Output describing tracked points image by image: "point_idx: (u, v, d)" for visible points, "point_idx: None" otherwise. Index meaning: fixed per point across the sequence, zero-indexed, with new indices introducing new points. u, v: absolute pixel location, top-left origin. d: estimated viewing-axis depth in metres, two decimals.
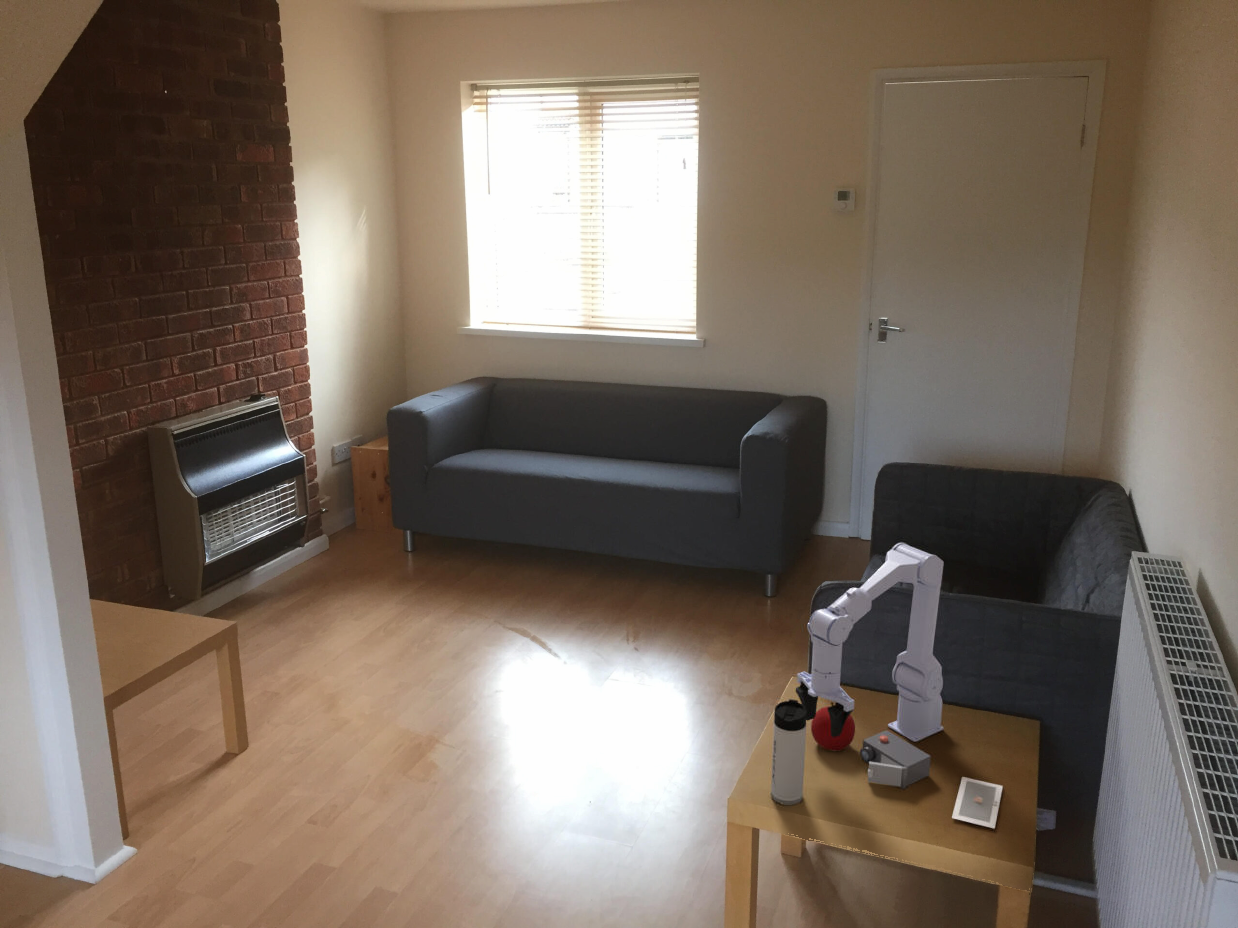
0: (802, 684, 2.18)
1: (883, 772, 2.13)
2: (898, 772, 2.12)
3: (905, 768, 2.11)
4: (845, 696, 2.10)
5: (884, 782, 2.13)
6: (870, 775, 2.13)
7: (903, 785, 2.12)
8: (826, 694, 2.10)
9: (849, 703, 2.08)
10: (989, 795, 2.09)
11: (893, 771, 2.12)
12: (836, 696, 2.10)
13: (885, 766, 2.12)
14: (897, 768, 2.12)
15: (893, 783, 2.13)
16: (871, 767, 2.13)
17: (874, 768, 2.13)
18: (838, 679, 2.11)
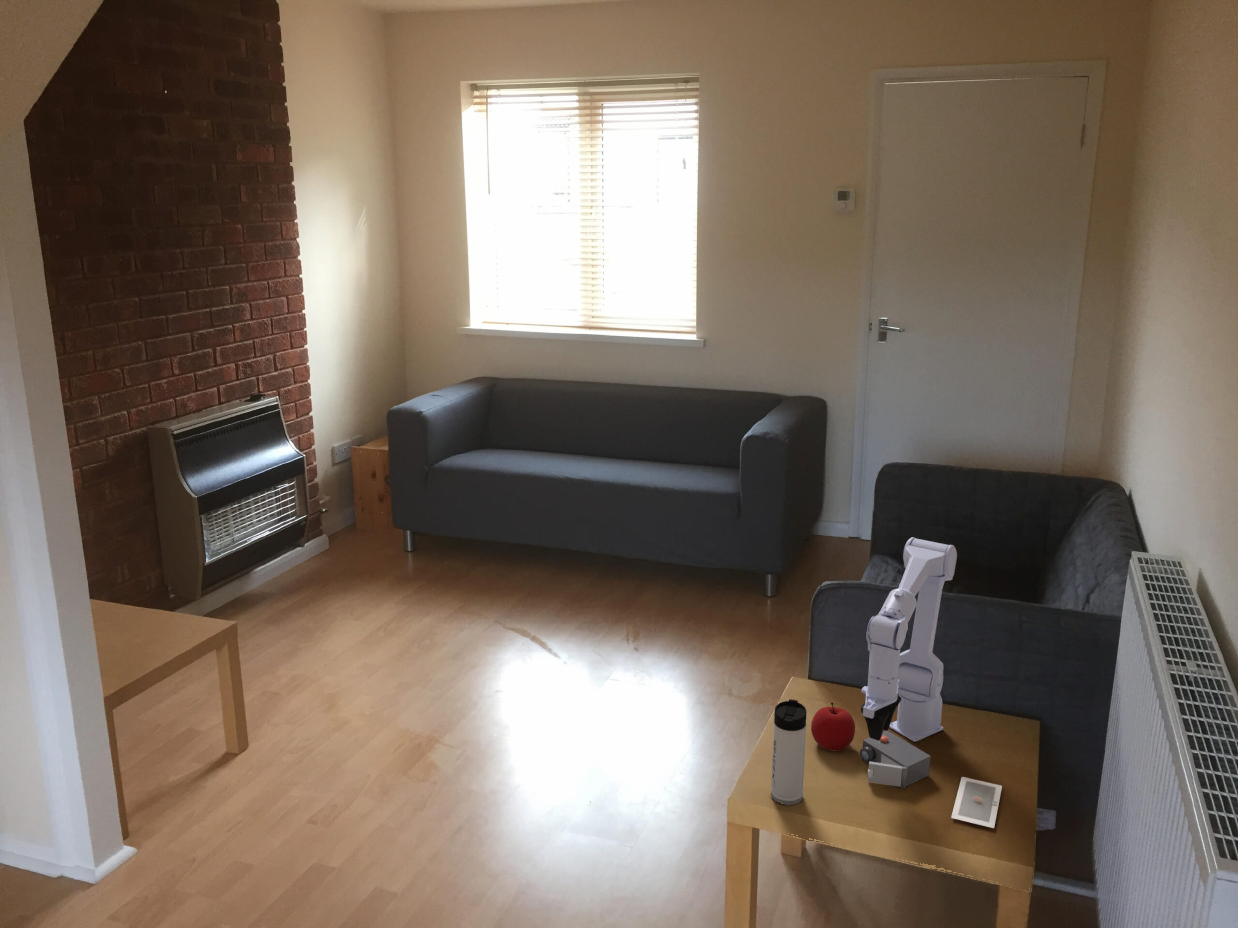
0: None
1: (883, 772, 2.13)
2: (898, 772, 2.12)
3: (905, 768, 2.11)
4: (877, 705, 2.06)
5: (884, 782, 2.13)
6: (870, 775, 2.13)
7: (903, 785, 2.12)
8: (867, 695, 2.09)
9: (866, 709, 2.05)
10: (988, 795, 2.09)
11: (893, 771, 2.12)
12: (873, 702, 2.08)
13: (885, 766, 2.12)
14: (897, 768, 2.12)
15: (893, 783, 2.13)
16: (871, 767, 2.13)
17: (874, 768, 2.13)
18: (881, 688, 2.07)
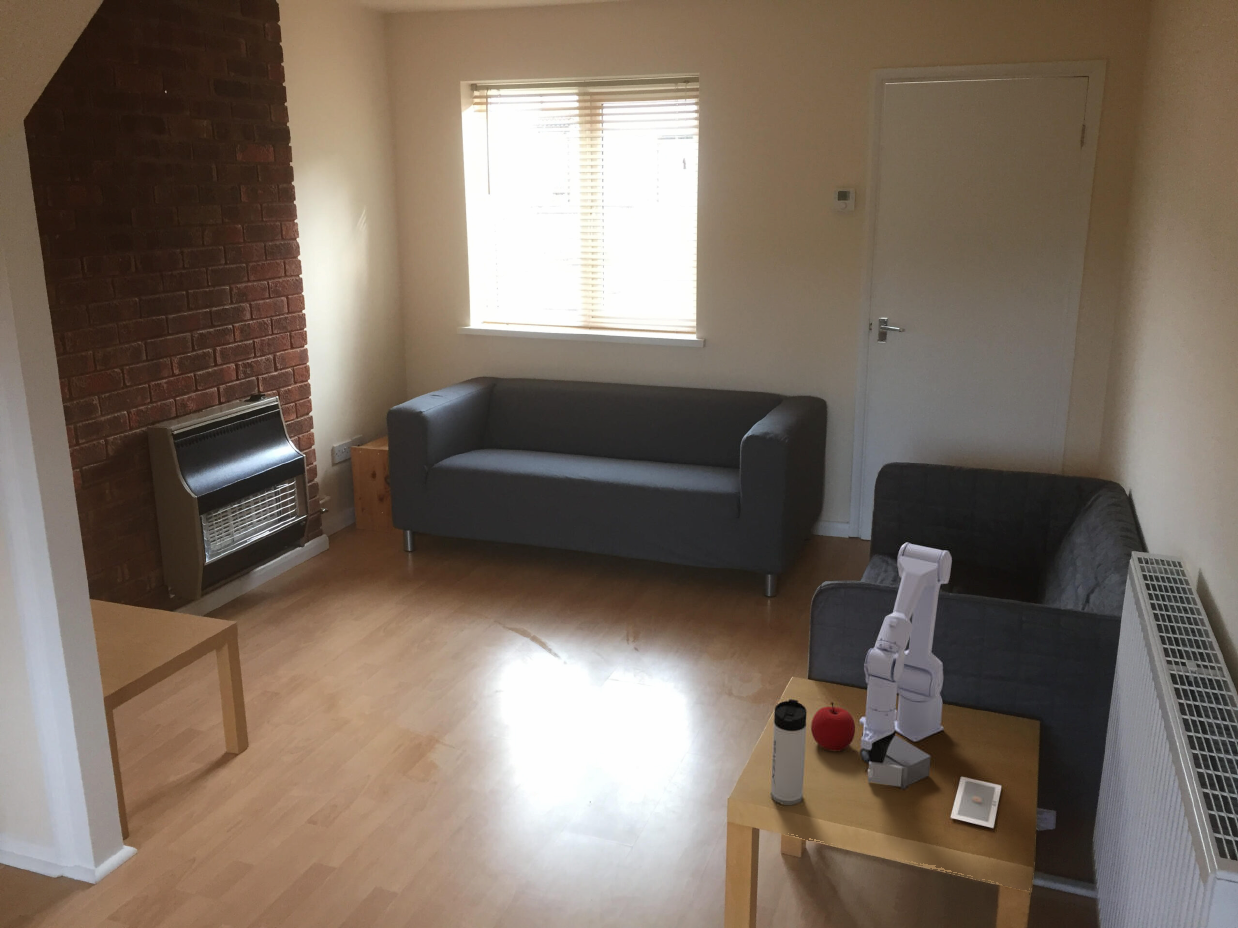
0: None
1: (883, 772, 2.13)
2: (898, 772, 2.12)
3: (905, 768, 2.11)
4: (874, 737, 2.08)
5: (884, 782, 2.13)
6: (870, 775, 2.13)
7: (903, 785, 2.12)
8: (865, 726, 2.11)
9: (863, 740, 2.07)
10: (987, 795, 2.09)
11: (893, 771, 2.12)
12: (871, 733, 2.10)
13: (885, 766, 2.12)
14: (897, 768, 2.12)
15: (893, 783, 2.13)
16: (871, 767, 2.13)
17: (874, 768, 2.13)
18: (879, 719, 2.09)
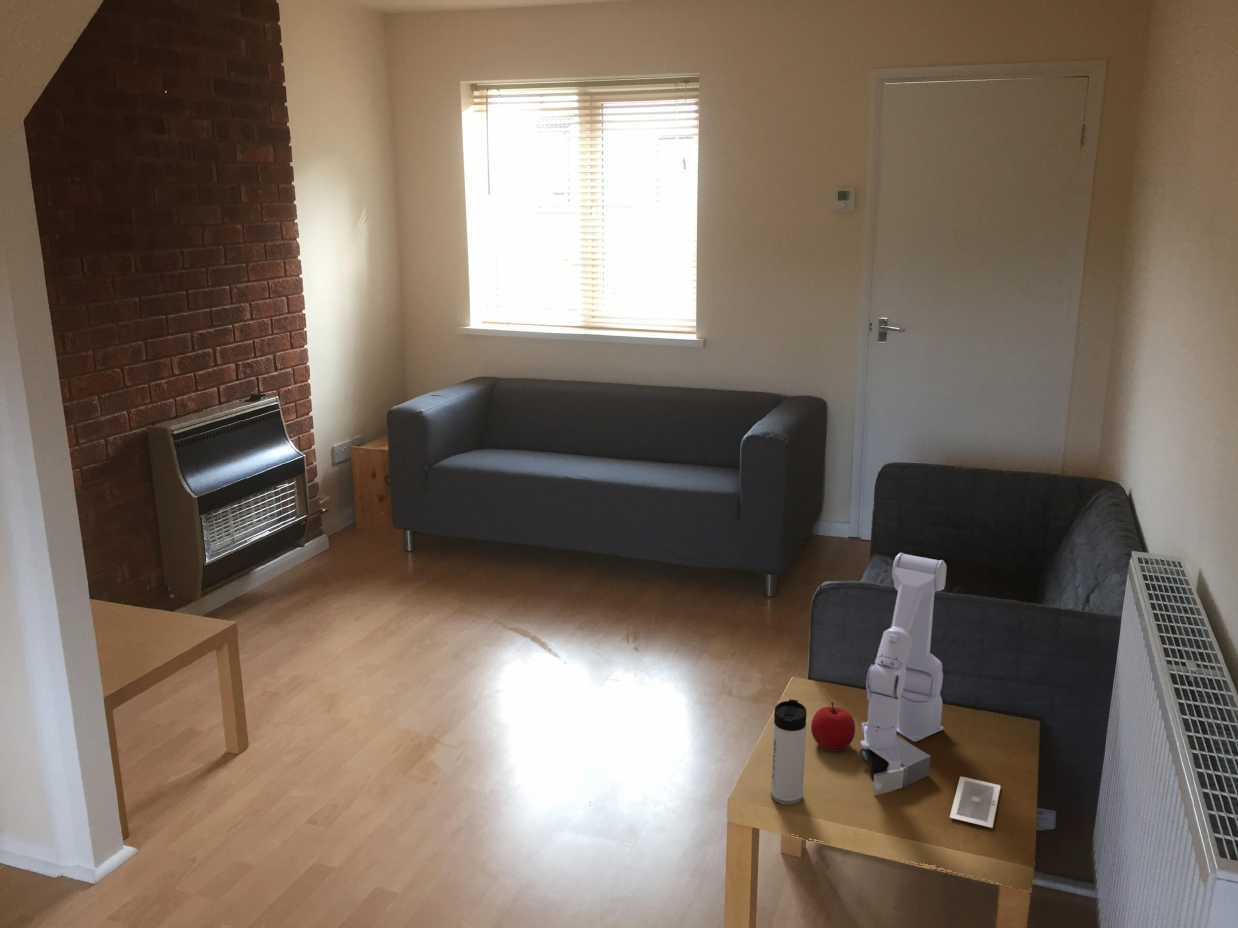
0: None
1: (888, 779, 2.10)
2: (900, 775, 2.11)
3: (905, 768, 2.11)
4: (895, 754, 2.04)
5: (889, 789, 2.11)
6: (879, 787, 2.09)
7: (904, 785, 2.12)
8: (876, 748, 2.06)
9: (894, 762, 2.02)
10: (987, 795, 2.09)
11: (896, 775, 2.11)
12: (886, 752, 2.05)
13: (890, 773, 2.10)
14: (899, 771, 2.11)
15: (896, 787, 2.12)
16: (878, 779, 2.09)
17: (880, 779, 2.09)
18: (891, 736, 2.06)
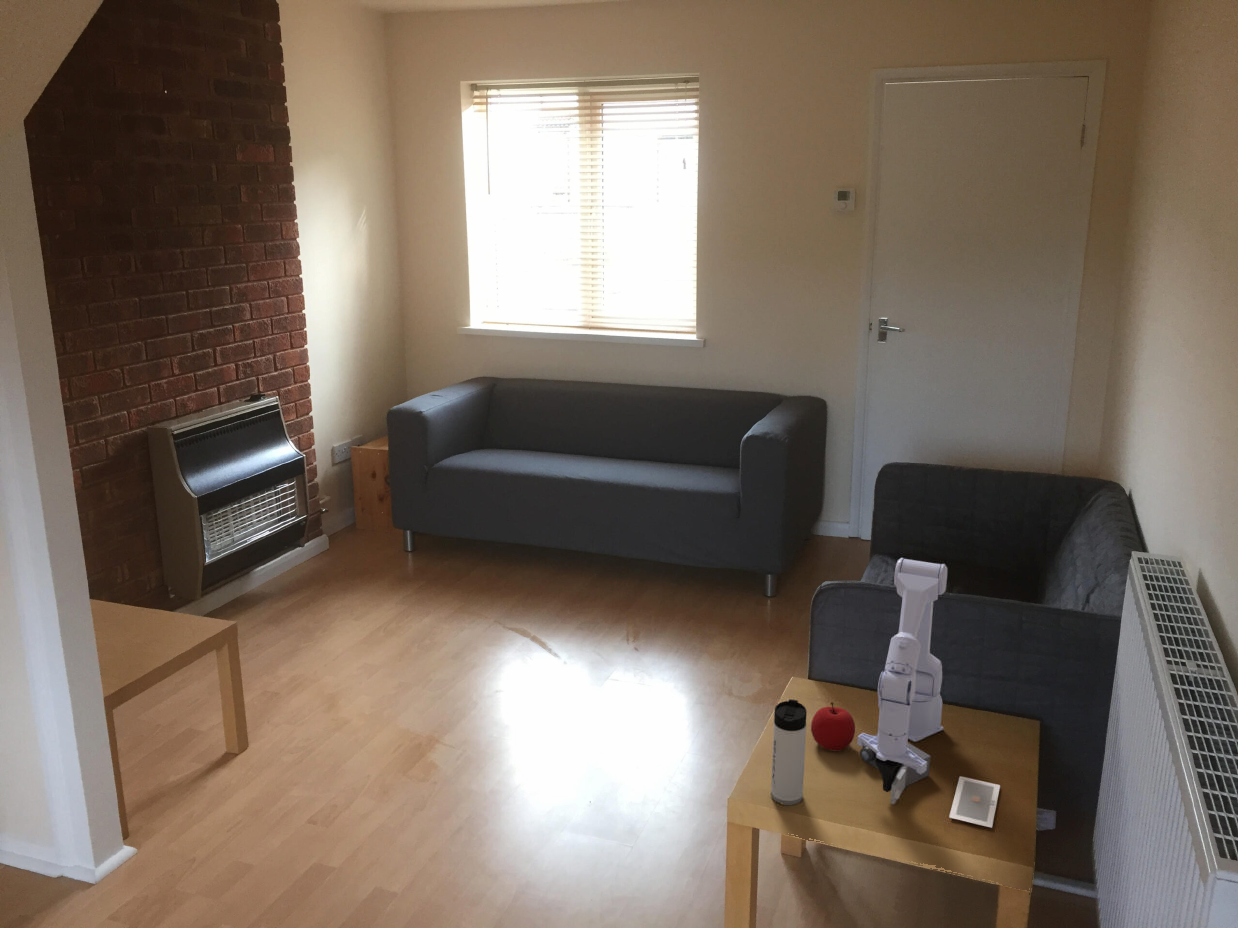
0: None
1: (900, 785, 2.08)
2: (904, 776, 2.11)
3: (905, 767, 2.12)
4: (915, 757, 2.03)
5: (899, 794, 2.09)
6: (899, 795, 2.06)
7: (905, 785, 2.12)
8: (896, 757, 2.03)
9: (923, 765, 2.01)
10: (986, 795, 2.09)
11: (903, 778, 2.10)
12: (906, 758, 2.03)
13: (900, 778, 2.08)
14: (904, 772, 2.10)
15: (902, 789, 2.11)
16: (896, 788, 2.06)
17: (897, 787, 2.07)
18: (907, 740, 2.04)
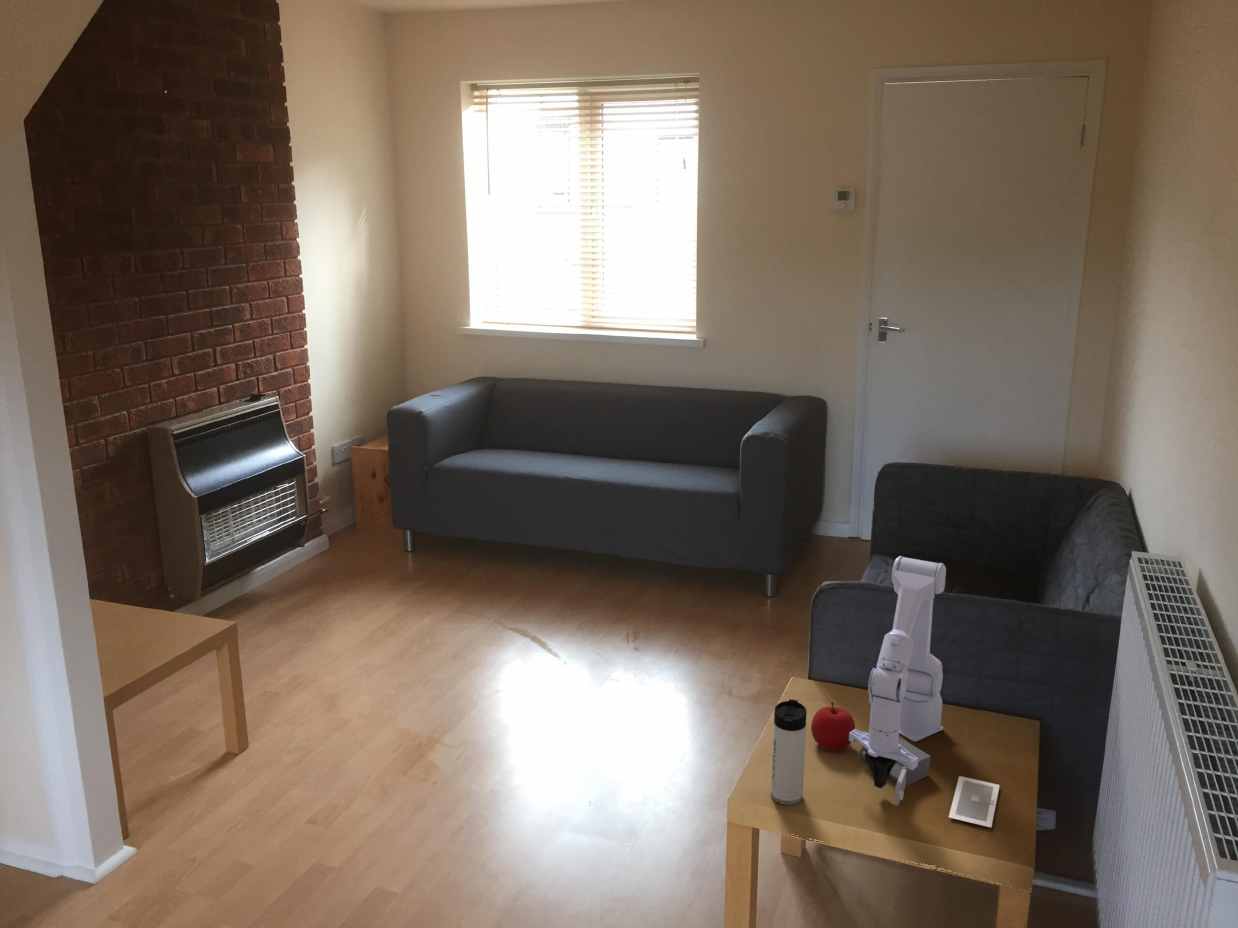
0: None
1: (902, 785, 2.08)
2: (905, 776, 2.11)
3: (905, 767, 2.12)
4: (907, 753, 2.05)
5: None
6: (903, 795, 2.06)
7: (905, 785, 2.12)
8: (888, 753, 2.04)
9: (914, 761, 2.02)
10: (986, 794, 2.09)
11: (904, 778, 2.10)
12: (897, 754, 2.05)
13: (902, 778, 2.08)
14: (905, 772, 2.10)
15: (903, 789, 2.11)
16: (900, 789, 2.06)
17: (900, 788, 2.07)
18: (898, 736, 2.05)
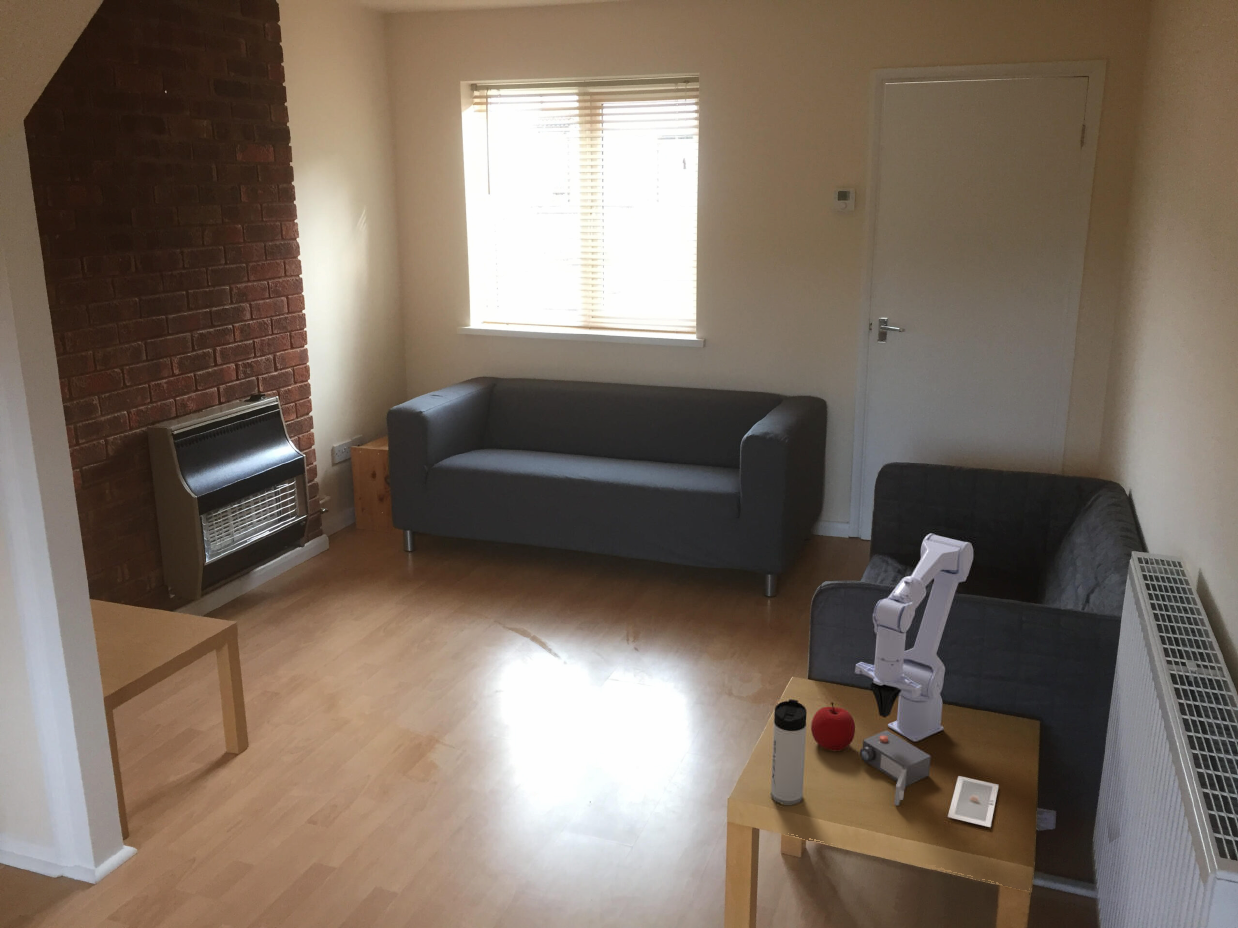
0: None
1: (902, 785, 2.08)
2: (905, 776, 2.11)
3: (905, 767, 2.12)
4: (910, 682, 2.15)
5: None
6: (903, 796, 2.06)
7: (905, 785, 2.12)
8: (892, 682, 2.14)
9: (917, 689, 2.12)
10: (985, 794, 2.09)
11: (904, 778, 2.10)
12: (902, 683, 2.15)
13: (902, 778, 2.08)
14: (905, 772, 2.10)
15: (903, 789, 2.11)
16: (900, 789, 2.06)
17: (900, 788, 2.07)
18: (902, 666, 2.15)
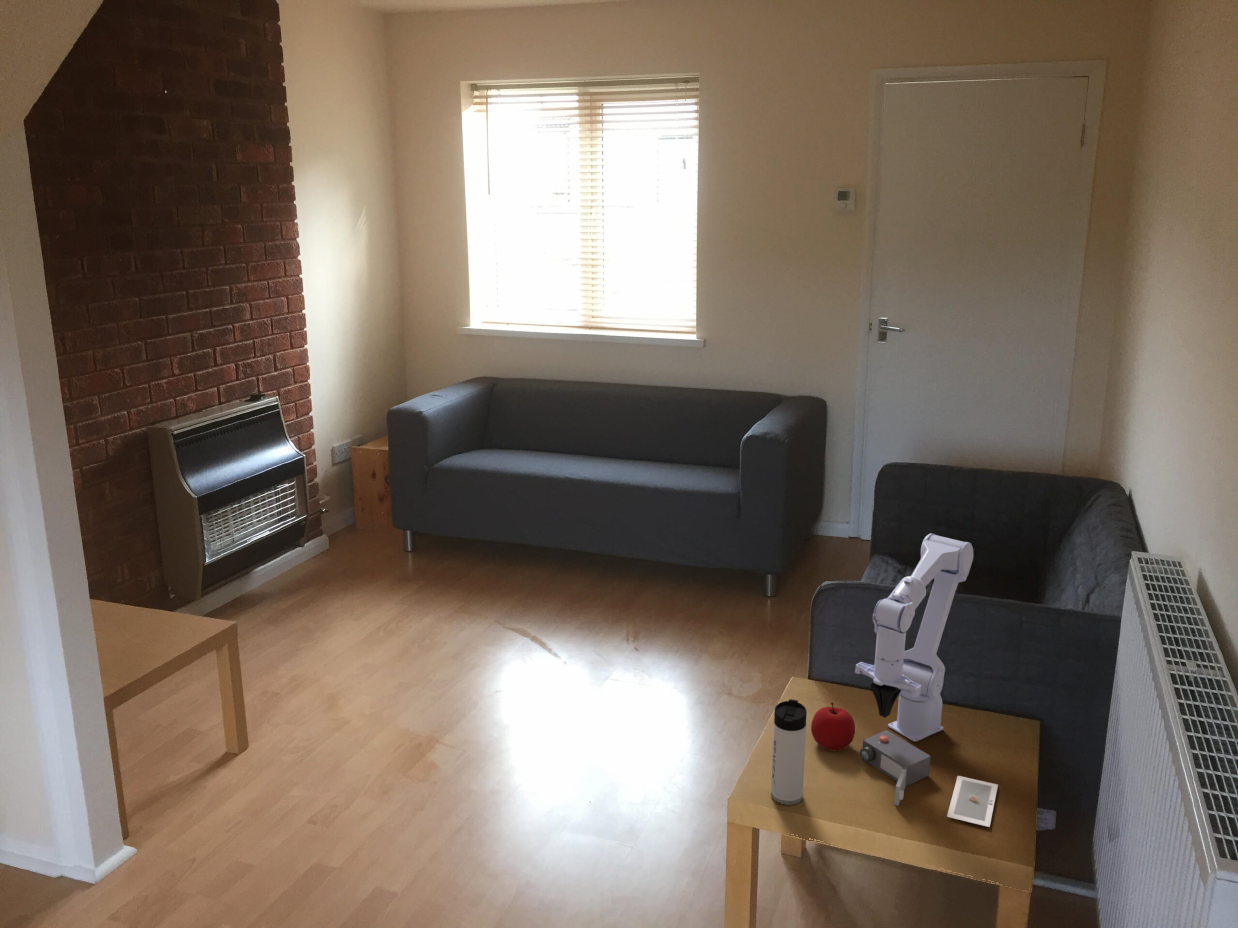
0: None
1: (902, 785, 2.08)
2: (905, 776, 2.11)
3: (905, 767, 2.12)
4: (910, 682, 2.15)
5: None
6: (903, 796, 2.06)
7: (905, 785, 2.12)
8: (892, 682, 2.14)
9: (917, 689, 2.12)
10: (984, 794, 2.09)
11: (904, 778, 2.10)
12: (902, 683, 2.15)
13: (902, 778, 2.08)
14: (905, 772, 2.10)
15: (903, 789, 2.11)
16: (900, 789, 2.06)
17: (900, 788, 2.07)
18: (902, 666, 2.15)
